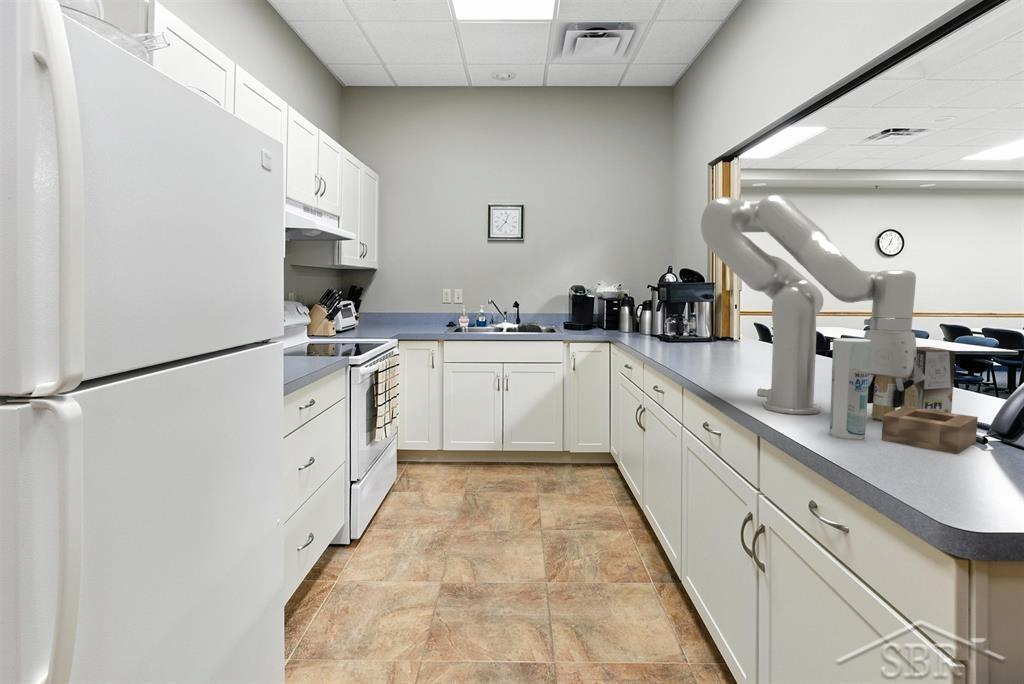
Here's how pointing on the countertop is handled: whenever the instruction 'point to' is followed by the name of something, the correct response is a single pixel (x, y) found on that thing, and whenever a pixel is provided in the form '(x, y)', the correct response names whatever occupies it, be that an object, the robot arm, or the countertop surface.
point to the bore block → (930, 429)
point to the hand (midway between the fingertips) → (884, 404)
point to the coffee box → (932, 381)
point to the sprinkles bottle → (883, 396)
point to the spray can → (849, 387)
